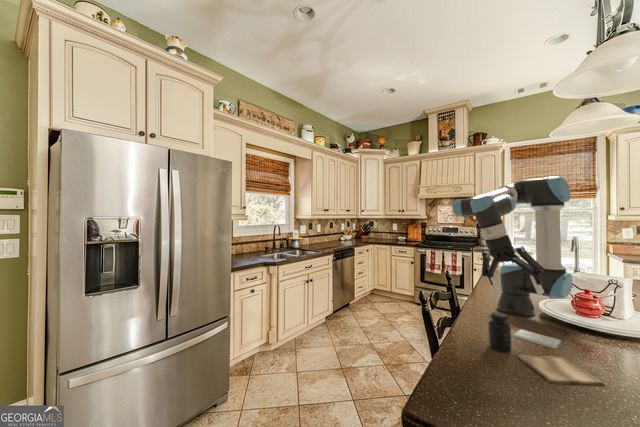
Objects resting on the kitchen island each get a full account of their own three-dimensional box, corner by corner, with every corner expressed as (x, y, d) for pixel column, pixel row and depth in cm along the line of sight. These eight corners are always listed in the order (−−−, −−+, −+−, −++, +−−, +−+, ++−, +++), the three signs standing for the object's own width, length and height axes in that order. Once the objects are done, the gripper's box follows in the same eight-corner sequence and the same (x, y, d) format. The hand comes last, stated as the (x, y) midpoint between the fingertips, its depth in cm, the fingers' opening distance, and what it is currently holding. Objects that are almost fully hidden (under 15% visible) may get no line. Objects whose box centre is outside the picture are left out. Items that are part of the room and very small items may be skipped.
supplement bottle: (507, 345, 97) (507, 312, 97) (514, 354, 90) (514, 318, 90) (486, 342, 99) (485, 310, 99) (491, 351, 92) (490, 316, 93)
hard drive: (513, 334, 103) (555, 345, 94) (520, 328, 108) (561, 339, 99) (514, 338, 103) (556, 350, 94) (520, 332, 108) (561, 343, 99)
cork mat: (561, 358, 87) (561, 356, 87) (603, 385, 73) (603, 382, 73) (516, 357, 88) (516, 354, 88) (549, 382, 74) (549, 380, 74)
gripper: (459, 244, 106) (480, 296, 104) (528, 233, 84) (556, 298, 82) (470, 239, 110) (490, 289, 107) (539, 227, 88) (566, 289, 85)
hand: (519, 293), depth 95 cm, fingers open, 13 cm apart
